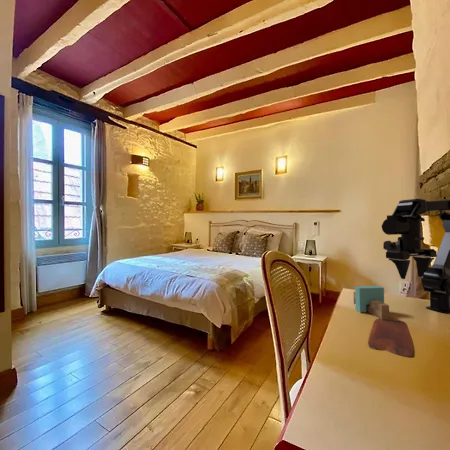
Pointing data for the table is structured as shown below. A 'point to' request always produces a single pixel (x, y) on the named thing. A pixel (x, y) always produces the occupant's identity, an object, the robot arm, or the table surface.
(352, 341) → the table surface
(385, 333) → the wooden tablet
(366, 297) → the teal flat block
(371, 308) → the walnut notched bar
